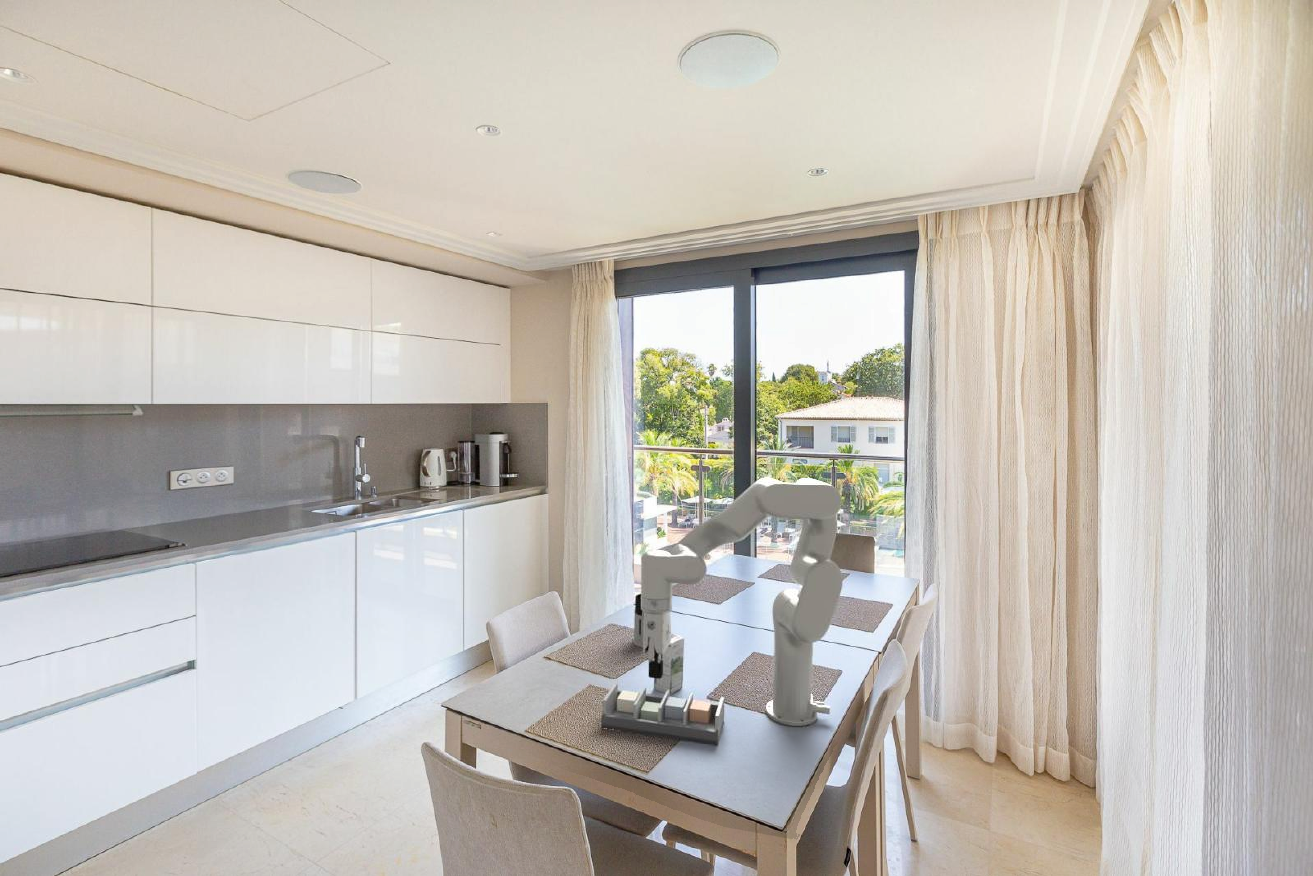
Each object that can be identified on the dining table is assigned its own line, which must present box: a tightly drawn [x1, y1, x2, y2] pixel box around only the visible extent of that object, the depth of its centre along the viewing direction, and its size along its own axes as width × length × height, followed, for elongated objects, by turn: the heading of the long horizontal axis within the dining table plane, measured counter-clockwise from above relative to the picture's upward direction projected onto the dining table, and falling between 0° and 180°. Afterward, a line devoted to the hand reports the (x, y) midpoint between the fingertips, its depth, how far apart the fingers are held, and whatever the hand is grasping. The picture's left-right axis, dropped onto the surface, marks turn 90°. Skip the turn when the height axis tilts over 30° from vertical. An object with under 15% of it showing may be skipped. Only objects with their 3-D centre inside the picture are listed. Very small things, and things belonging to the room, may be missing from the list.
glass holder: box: [632, 593, 644, 648], centre depth 200 cm, size 9×14×15 cm, turn 174°
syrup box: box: [653, 632, 685, 696], centre depth 170 cm, size 6×6×14 cm
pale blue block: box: [665, 696, 688, 720], centre depth 150 cm, size 4×4×3 cm
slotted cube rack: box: [600, 682, 725, 747], centre depth 151 cm, size 28×11×7 cm, turn 76°
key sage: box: [641, 701, 660, 722], centre depth 151 cm, size 4×4×3 cm
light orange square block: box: [690, 699, 712, 723], centre depth 149 cm, size 4×4×3 cm
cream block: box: [617, 690, 640, 713], centre depth 153 cm, size 4×4×3 cm
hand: (655, 676), depth 151 cm, fingers closed
